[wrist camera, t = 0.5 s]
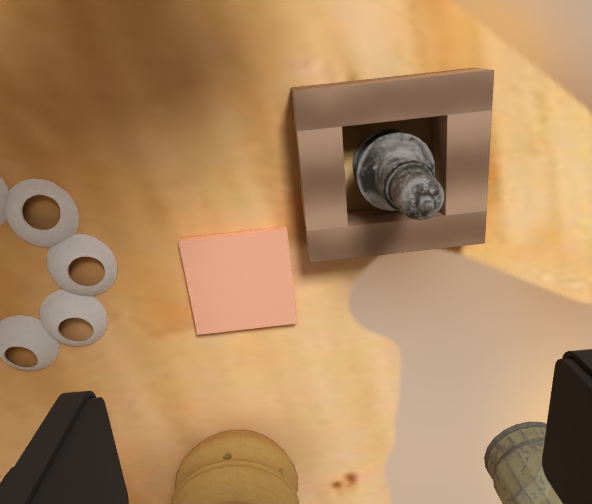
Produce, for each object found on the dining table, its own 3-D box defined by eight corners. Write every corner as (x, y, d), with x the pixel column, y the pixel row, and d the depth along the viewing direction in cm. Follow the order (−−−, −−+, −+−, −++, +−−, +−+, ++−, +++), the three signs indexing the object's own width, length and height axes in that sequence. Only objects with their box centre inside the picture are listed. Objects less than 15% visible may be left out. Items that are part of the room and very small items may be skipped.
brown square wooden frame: (291, 87, 38) (293, 91, 34) (474, 67, 38) (494, 70, 35) (306, 246, 43) (309, 262, 40) (468, 228, 43) (484, 243, 40)
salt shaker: (436, 162, 41) (499, 207, 30) (380, 211, 42) (421, 271, 31) (390, 109, 39) (439, 135, 28) (334, 161, 40) (360, 206, 29)
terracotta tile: (179, 238, 42) (178, 241, 41) (286, 226, 42) (287, 229, 41) (198, 330, 45) (197, 334, 45) (297, 318, 45) (297, 323, 45)
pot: (289, 404, 49) (294, 487, 40) (301, 491, 54) (309, 583, 45) (170, 419, 49) (148, 506, 40) (193, 504, 54) (178, 600, 44)
